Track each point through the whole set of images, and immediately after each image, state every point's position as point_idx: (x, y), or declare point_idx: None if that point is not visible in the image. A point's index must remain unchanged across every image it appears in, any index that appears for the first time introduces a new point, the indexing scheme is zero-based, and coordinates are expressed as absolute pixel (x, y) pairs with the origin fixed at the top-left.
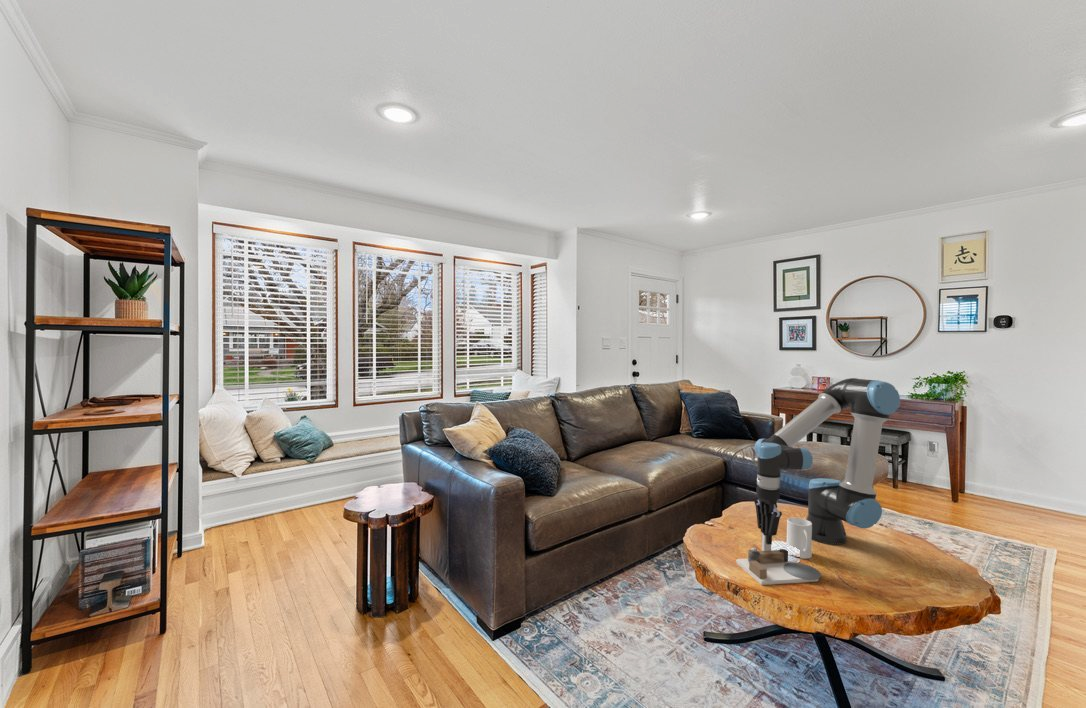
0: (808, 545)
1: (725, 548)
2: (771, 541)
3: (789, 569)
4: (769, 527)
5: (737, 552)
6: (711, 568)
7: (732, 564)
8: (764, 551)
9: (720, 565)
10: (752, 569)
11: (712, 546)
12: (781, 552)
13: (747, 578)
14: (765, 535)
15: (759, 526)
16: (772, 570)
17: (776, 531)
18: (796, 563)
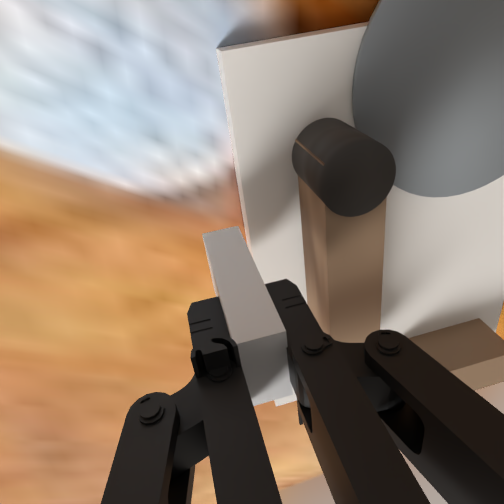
0: None
1: (86, 419)
2: (302, 298)
3: (444, 166)
4: (434, 480)
5: (135, 370)
6: (320, 469)
7: (289, 405)
8: (339, 326)
9: (296, 444)
10: None
11: (73, 469)
12: (373, 208)
13: None
14: (288, 380)
15: (192, 474)
16: (419, 267)
17: (445, 376)
18: (377, 57)
